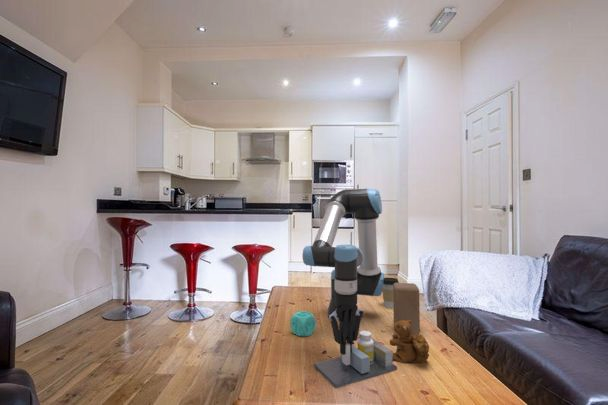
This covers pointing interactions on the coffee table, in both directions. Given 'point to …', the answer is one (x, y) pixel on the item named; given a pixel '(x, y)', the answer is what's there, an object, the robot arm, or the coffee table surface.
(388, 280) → the coffee cup
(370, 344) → the supplement bottle
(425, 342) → the stuffed squirrel
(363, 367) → the sliding jaw
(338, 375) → the vise base
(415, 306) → the block
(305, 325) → the decorative dice
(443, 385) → the coffee table surface
